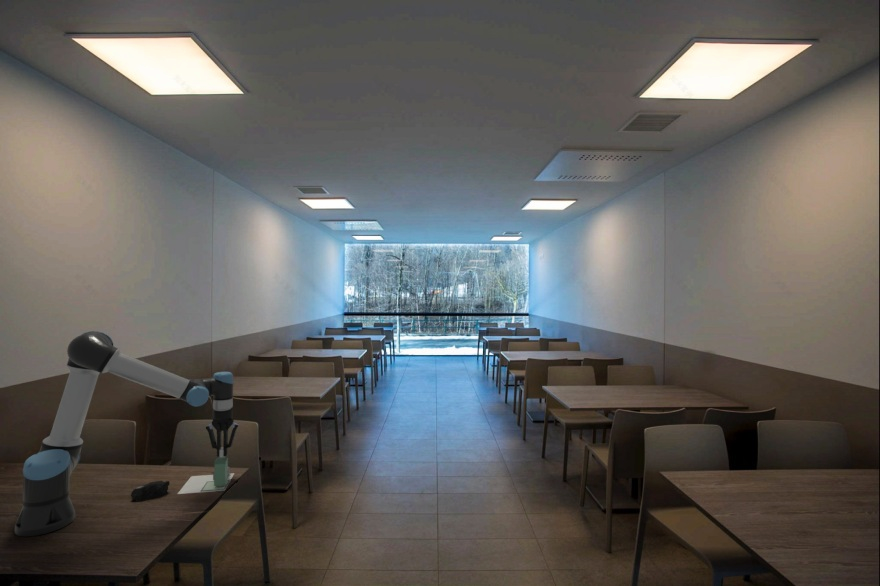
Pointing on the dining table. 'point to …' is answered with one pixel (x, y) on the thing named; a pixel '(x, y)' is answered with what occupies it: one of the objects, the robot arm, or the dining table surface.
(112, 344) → the robot arm
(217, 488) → the board
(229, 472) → the button housing
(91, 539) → the dining table surface
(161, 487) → the rock
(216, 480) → the green rectangular block
